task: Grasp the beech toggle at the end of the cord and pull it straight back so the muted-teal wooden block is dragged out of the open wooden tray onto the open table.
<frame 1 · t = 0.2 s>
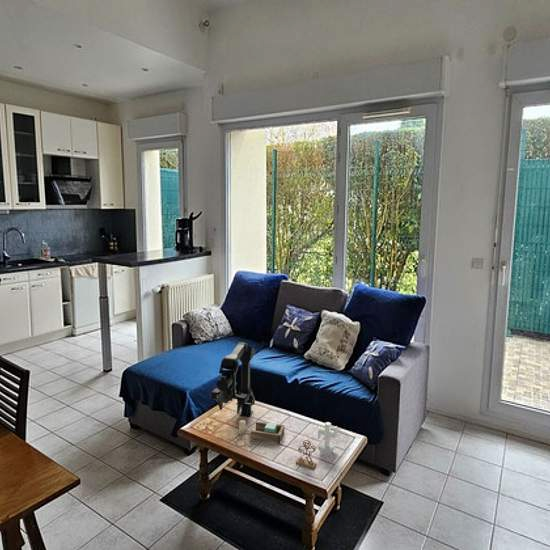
hand: (229, 412, 208), 14 cm above the table, fingers open, 9 cm apart
block with cord: (270, 436, 213), on the table
wire sculpture: (306, 464, 191), on the table
figurine: (326, 452, 200), on the table
open wooden tray: (267, 436, 213), on the table
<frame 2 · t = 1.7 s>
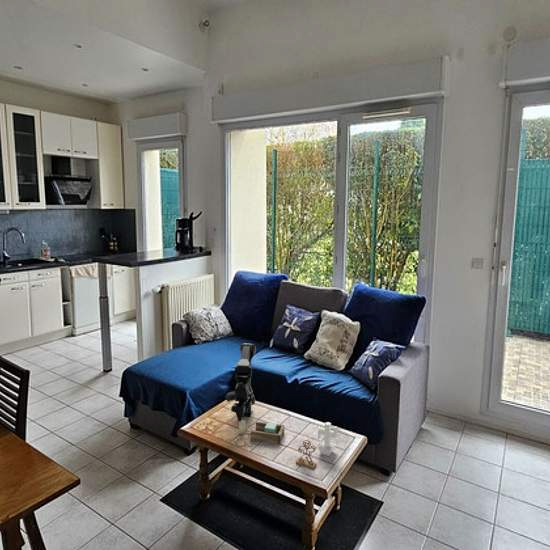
hand: (242, 417, 215), 8 cm above the table, fingers open, 9 cm apart
nothing on the table moved.
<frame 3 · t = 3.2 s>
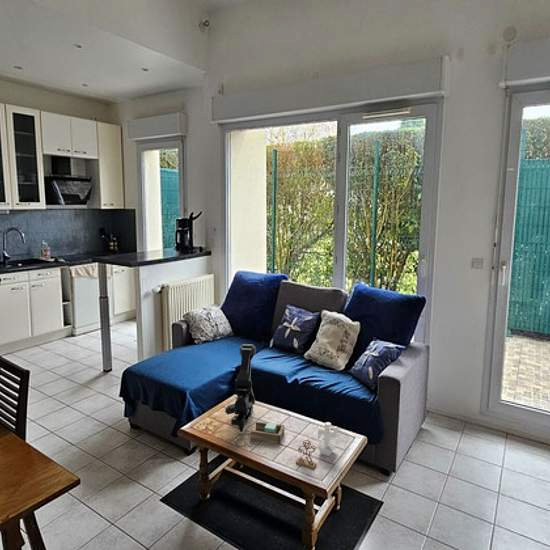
hand: (242, 429, 216), 2 cm above the table, fingers closed on block with cord, 3 cm apart
block with cord: (270, 436, 213), on the table, touching gripper
everything else where it was.
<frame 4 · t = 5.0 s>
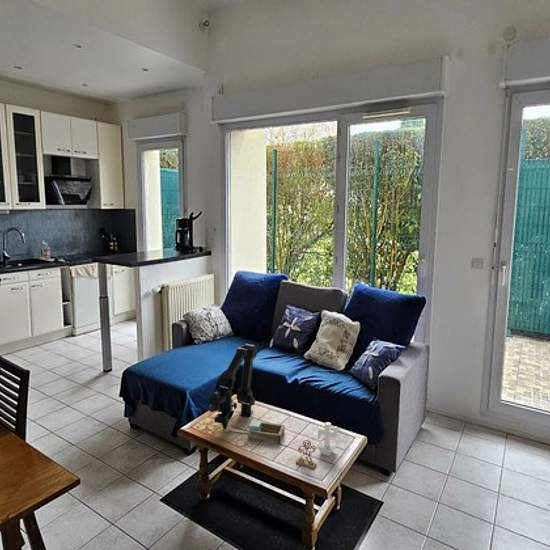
hand: (225, 427, 218), 2 cm above the table, fingers closed on block with cord, 3 cm apart
block with cord: (255, 434, 214), on the table, touching gripper
everything else where it was.
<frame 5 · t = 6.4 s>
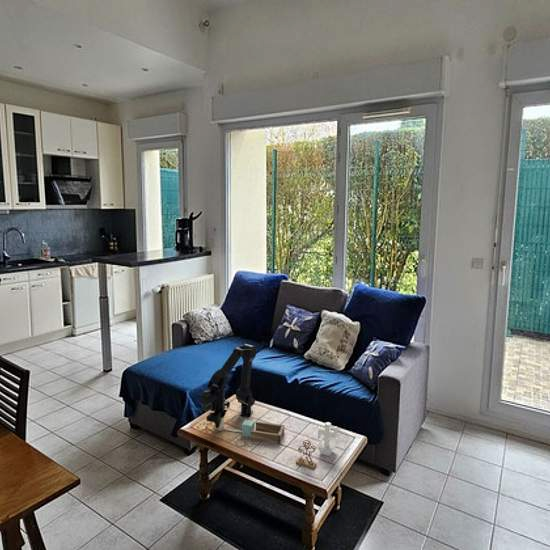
hand: (218, 426, 218), 1 cm above the table, fingers closed on block with cord, 3 cm apart
block with cord: (248, 433, 215), on the table, touching gripper
everything else where it was.
when the fingers open (1 cm above the table, at t = 6.9 s): block with cord stays where it is, on the table.
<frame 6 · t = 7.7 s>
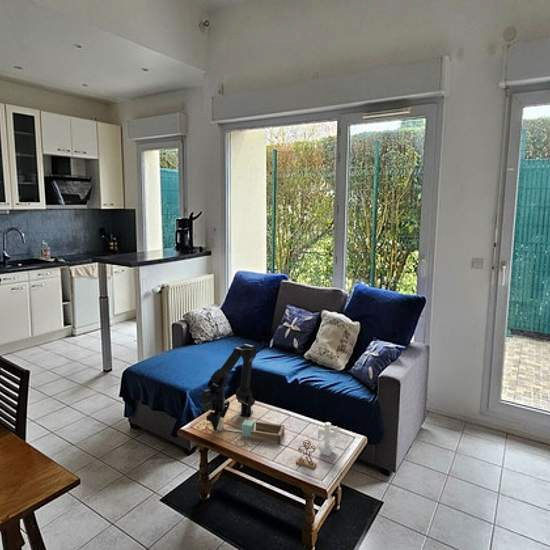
hand: (218, 425, 218), 2 cm above the table, fingers open, 9 cm apart
block with cord: (247, 433, 215), on the table
everything else where it was.
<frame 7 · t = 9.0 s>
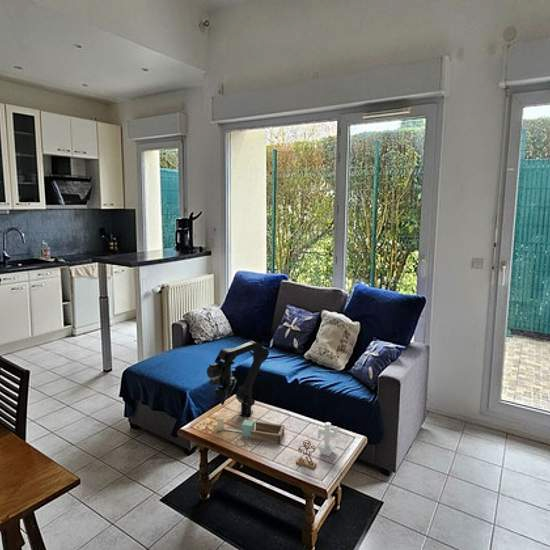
hand: (225, 400, 224), 12 cm above the table, fingers open, 9 cm apart
nothing on the table moved.
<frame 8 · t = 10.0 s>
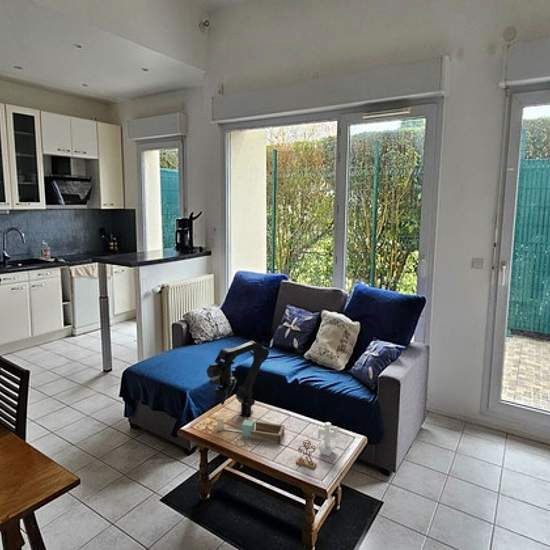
hand: (225, 400, 224), 12 cm above the table, fingers open, 9 cm apart
nothing on the table moved.
at the end: block with cord inside the target area (5.7 cm from its centre), on the table; block with cord moved 11.8 cm from its start; block with cord tilted 0° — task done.
